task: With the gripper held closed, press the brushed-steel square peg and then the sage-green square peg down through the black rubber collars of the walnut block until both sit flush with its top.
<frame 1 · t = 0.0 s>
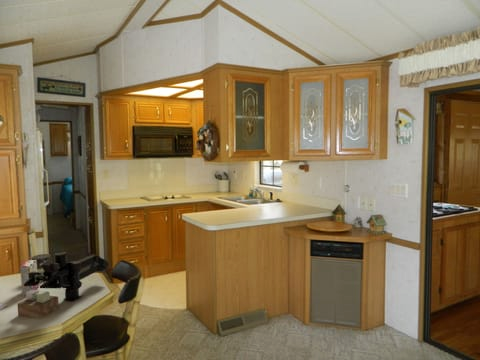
hand: (31, 286, 174), 17 cm above the table, tool horizontal, fingers open, 9 cm apart
coffee can: (42, 279, 230), on the table
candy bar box: (30, 291, 211), on the table
sage peg: (43, 298, 183), point 7 cm above the table, slide at 4.0 cm
steel peg: (32, 297, 185), point 7 cm above the table, slide at 4.0 cm
walnut block: (38, 311, 185), on the table
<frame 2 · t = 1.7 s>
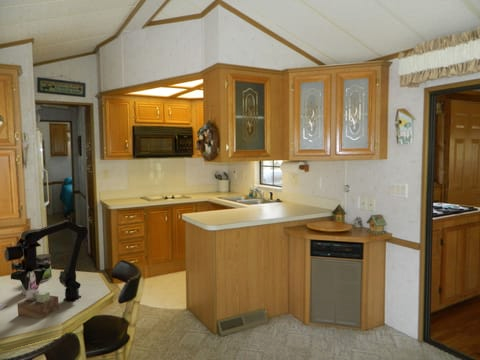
hand: (32, 287, 185), 12 cm above the table, tool pointing down, fingers open, 6 cm apart
nothing on the table moved.
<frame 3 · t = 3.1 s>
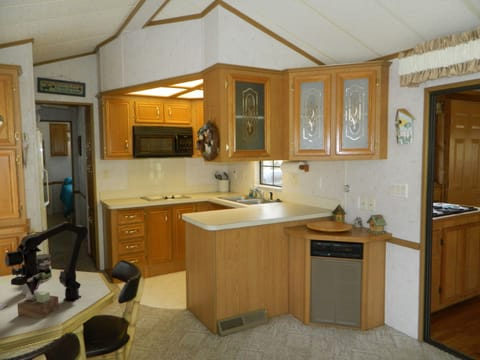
hand: (32, 292, 185), 9 cm above the table, tool pointing down, fingers closed, pressing on steel peg
steel peg: (32, 298, 185), point 7 cm above the table, slide at 3.4 cm, touching gripper
everything else where it was.
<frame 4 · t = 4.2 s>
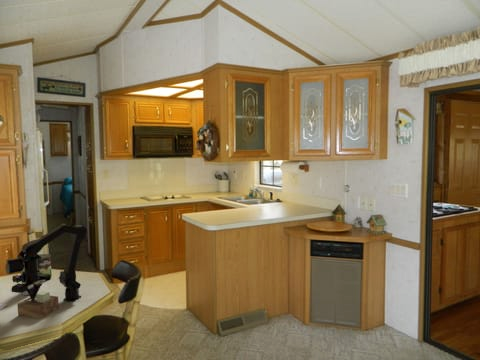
hand: (33, 299, 185), 6 cm above the table, tool pointing down, fingers closed, pressing on steel peg
steel peg: (33, 305, 185), point 3 cm above the table, slide at -0.1 cm, touching gripper
everything else where it was.
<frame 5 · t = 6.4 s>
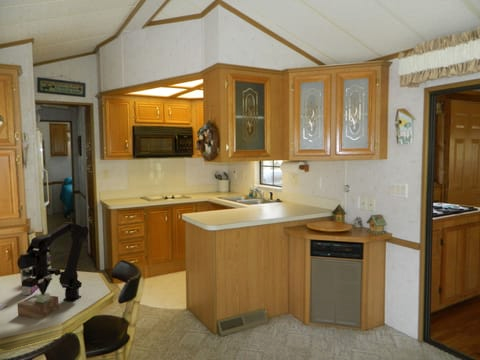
hand: (43, 294, 183), 9 cm above the table, tool pointing down, fingers closed, pressing on sage peg
sage peg: (43, 299, 183), point 6 cm above the table, slide at 3.3 cm, touching gripper
steel peg: (33, 305, 185), point 3 cm above the table, slide at -0.1 cm
everything else where it was.
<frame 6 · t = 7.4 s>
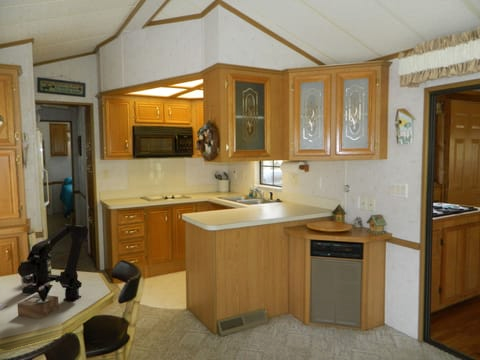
hand: (43, 300, 183), 6 cm above the table, tool pointing down, fingers closed, pressing on sage peg
sage peg: (43, 306, 184), point 3 cm above the table, slide at -0.1 cm, touching gripper
everything else where it was.
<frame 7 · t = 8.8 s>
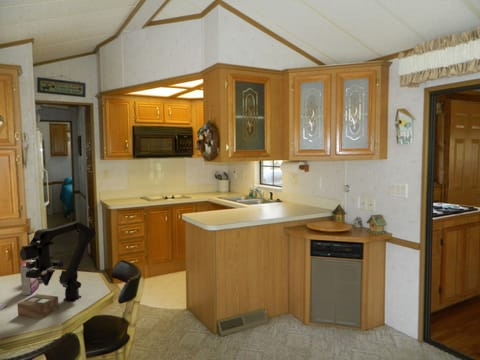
hand: (46, 285, 187), 12 cm above the table, tool pointing down, fingers closed
sage peg: (43, 306, 184), point 3 cm above the table, slide at -0.1 cm
everything else where it was.
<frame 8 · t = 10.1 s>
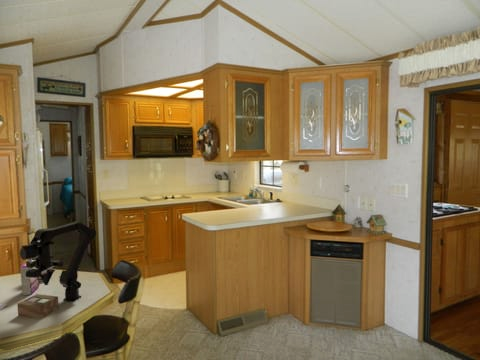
hand: (46, 285, 188), 12 cm above the table, tool pointing down, fingers closed
nothing on the table moved.
at the end: steel peg slide at -0.1 cm; sage peg slide at -0.1 cm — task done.
